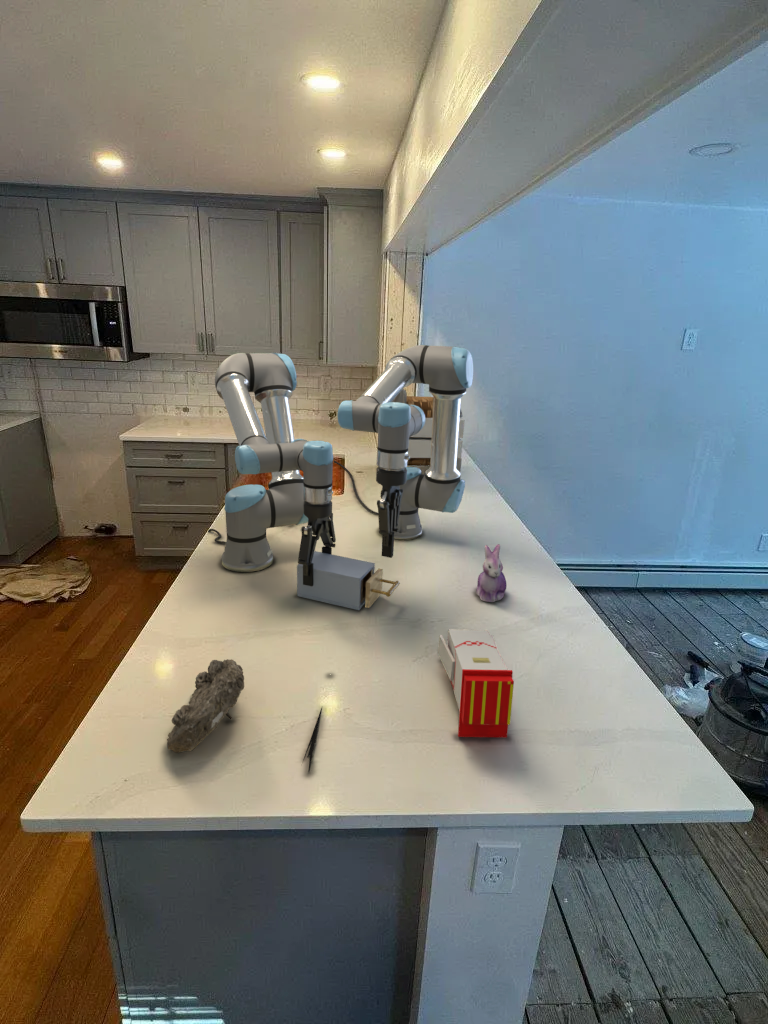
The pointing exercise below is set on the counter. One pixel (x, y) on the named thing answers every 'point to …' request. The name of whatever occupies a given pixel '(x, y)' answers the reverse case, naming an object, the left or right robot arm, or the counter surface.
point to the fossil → (206, 705)
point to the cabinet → (335, 580)
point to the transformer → (426, 432)
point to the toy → (478, 682)
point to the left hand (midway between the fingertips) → (317, 576)
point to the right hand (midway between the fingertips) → (387, 555)
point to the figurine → (491, 577)
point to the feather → (313, 740)
